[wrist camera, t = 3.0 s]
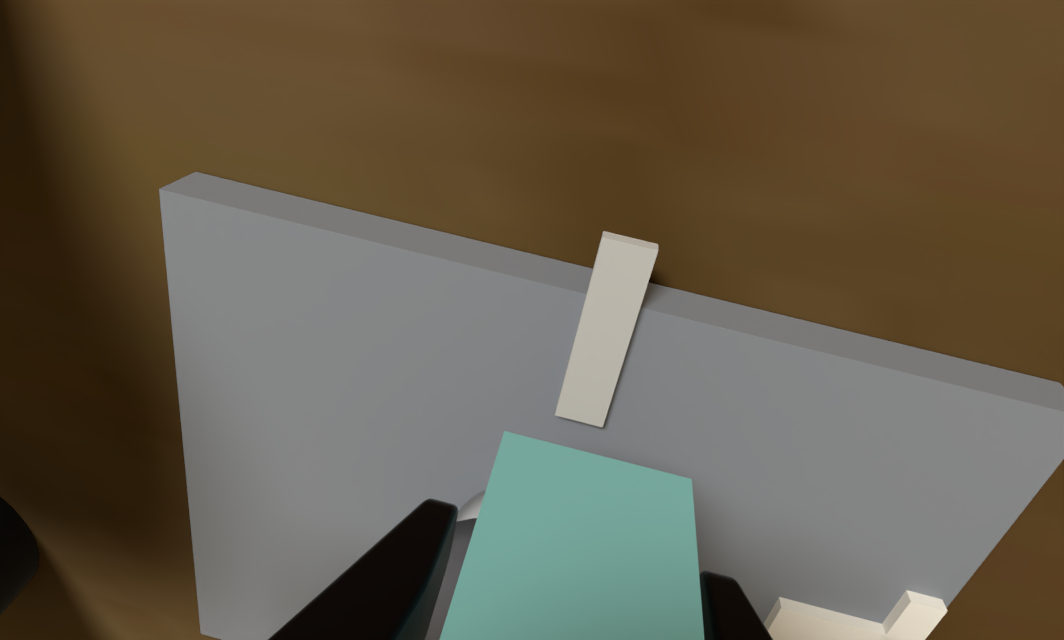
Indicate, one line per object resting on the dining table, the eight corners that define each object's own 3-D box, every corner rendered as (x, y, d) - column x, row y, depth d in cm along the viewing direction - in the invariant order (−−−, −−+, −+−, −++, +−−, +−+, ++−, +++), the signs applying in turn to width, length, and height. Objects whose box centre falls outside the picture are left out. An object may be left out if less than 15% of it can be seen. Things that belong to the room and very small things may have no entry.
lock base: (1099, 327, 12) (1218, 424, 10) (789, 754, 20) (810, 873, 17) (192, 109, 13) (79, 146, 11) (223, 600, 21) (162, 691, 18)
